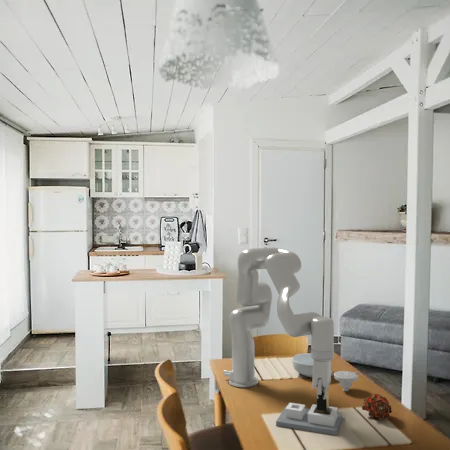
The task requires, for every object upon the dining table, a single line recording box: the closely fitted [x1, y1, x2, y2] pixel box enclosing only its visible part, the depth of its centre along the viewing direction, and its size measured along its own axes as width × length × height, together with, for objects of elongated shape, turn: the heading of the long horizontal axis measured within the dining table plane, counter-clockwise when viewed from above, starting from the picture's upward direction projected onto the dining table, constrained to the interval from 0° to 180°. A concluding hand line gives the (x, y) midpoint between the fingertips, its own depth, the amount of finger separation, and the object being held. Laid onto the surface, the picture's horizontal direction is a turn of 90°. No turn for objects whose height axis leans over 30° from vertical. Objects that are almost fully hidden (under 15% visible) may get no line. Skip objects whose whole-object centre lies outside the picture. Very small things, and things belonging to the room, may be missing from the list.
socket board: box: [275, 402, 343, 436], centre depth 163 cm, size 20×14×4 cm
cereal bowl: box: [291, 352, 314, 378], centre depth 211 cm, size 17×17×7 cm
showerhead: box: [333, 370, 359, 392], centre depth 192 cm, size 9×7×10 cm
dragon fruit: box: [361, 393, 393, 421], centre depth 167 cm, size 8×8×12 cm
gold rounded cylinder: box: [317, 388, 330, 415], centre depth 162 cm, size 4×4×8 cm
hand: (322, 406), depth 162 cm, fingers closed on gold rounded cylinder, 4 cm apart
